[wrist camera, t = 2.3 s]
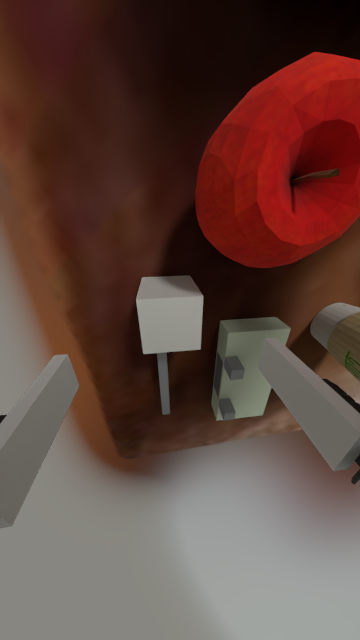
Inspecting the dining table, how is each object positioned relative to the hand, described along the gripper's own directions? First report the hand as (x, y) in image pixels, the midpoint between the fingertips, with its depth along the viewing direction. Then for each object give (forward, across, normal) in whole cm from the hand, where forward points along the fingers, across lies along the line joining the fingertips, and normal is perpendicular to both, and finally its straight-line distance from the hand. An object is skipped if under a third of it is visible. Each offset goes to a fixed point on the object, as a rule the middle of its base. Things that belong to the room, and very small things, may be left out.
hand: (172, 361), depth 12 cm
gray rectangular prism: (+11, 0, 0) cm, 11 cm away
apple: (+11, +7, +10) cm, 17 cm away
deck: (+11, +7, -11) cm, 17 cm away
